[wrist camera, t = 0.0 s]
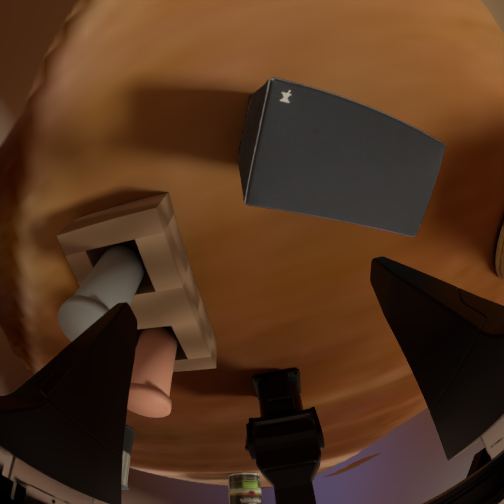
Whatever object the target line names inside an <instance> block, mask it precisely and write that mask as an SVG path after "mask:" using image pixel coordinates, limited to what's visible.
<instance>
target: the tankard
mask: <svg viewBox="0 0 504 504" xmlns="http://www.w3.org/2000/svg"><path fill="white" fill-rule="evenodd" d="M495 267H496V272H497V274H498V276H499V278H501V279H502V280H504V221H503V224H502V228H501V231H500V235H499V239H498V243H497V249H496V261H495Z"/></svg>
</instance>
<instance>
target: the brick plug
mask: <svg viewBox="0 0 504 504" xmlns="http://www.w3.org/2000/svg"><path fill="white" fill-rule="evenodd" d="M177 344H178V342H177V338H176V337H175V335H174V334H173V333H172V332H170V331H169V330H167V329H165V328H162V327H155V328H145V329H143V330H142V332H141V334H140V337H139V340H138V343H137V346H136V350H135V359H134V366H133V372H132V378H131V384H130V391H129V398H128V406H127V409H129V410H130V411H132V412H134V413H137V414H139V415H143V416H147V417H155V418H157V417H165V416H167V415H169V414H170V412H171V405H172V401H171V399H170V398H169V394H170V387H171V381H172V374H173V368H174V362H175V356H176V350H177Z"/></svg>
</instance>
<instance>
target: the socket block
mask: <svg viewBox="0 0 504 504" xmlns="http://www.w3.org/2000/svg"><path fill="white" fill-rule="evenodd" d="M57 238H58V240H59V243H60V245H61V247H62V250H63V252H64V254H65V256H66V259H67V261H68V263H69V265H70V267H71V269H72V271H73V273H74V275H75V277H76V279H77V281H78V283H79V285H80V286H81V284H82V283H83V281H84V280H85V279H86V277H87V276H88V274H89V273H90V272H91V270H92V269H93V268H94V266H95V265H96V264H97V262H98V261H99V260H100V258H101V257H102V256H103V254H104V253H105V252H106V251H107V250H108V249H109V248H110V247H109V245H112V244H116V243H120V242H125V241H129V240H133V239H135V241H136V244H137V246H138V249H139V252H140V254H141V257H142V259H143V262H144V265H145V267H146V271H144V275H143V278H142V280H141V282H140V284H139V286H138V289H137V291H136V293H135V295H134V297H133V300H132V302H131V304H130V307H131V309H132V311H133V313H134V315H135V316H136V319H137V323H138V325H137V336H136V346H137V343H138V340H139V337H140V334H141V332H142V330H143V329H145V328H155V327H164V326H172V328H173V330H174V332H175V334H176V335H175V337H176V338H177V342H178V344H177V350H176V356H175V362H174V368H173V372H179V371H192V370H203V369H212V368H216V357H217V340H216V338H215V335H214V332H213V330H212V327H211V324H210V322H209V319H208V316H207V313H206V311H205V308H204V305H203V302H202V299H201V296H200V294H199V291H198V288H197V285H196V282H195V279H194V276H193V273H192V270H191V267H190V264H189V261H188V257H187V254H186V251H185V248H184V245H183V241H182V238H181V235H180V232H179V228H178V225H177V221H176V218H175V215H174V211H173V208H172V204H171V200H170V197H169V193H163V194H159V195H155V196H152V197H148V198H144V199H140V200H136V201H133V202H129V203H126V204H122V205H119V206H115V207H112V208H108V209H105V210H102V211H99V212H95V213H92V214H89V215H86V216H83V217H80V218H77V219H76V220H75V221H73V222H72V223H71V224H70V225H69V226H67V227H66V228H65V229H64V230H63V231H62V232H61V233H59V234H58V235H57ZM135 350H136V349H135Z"/></svg>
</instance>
